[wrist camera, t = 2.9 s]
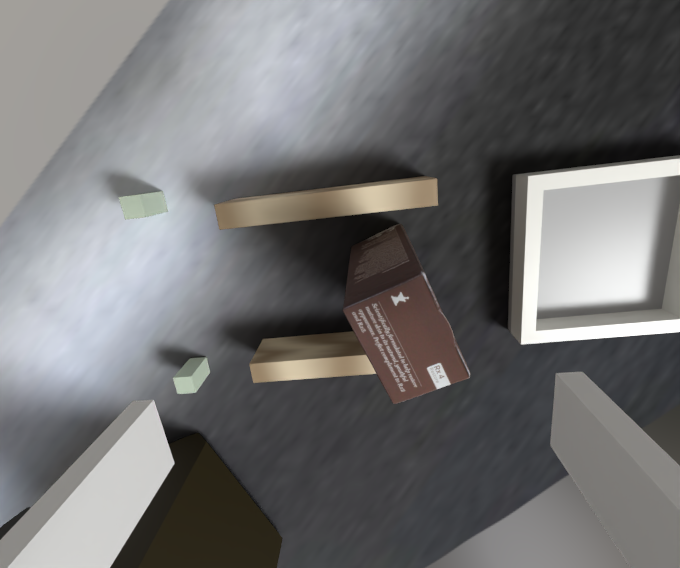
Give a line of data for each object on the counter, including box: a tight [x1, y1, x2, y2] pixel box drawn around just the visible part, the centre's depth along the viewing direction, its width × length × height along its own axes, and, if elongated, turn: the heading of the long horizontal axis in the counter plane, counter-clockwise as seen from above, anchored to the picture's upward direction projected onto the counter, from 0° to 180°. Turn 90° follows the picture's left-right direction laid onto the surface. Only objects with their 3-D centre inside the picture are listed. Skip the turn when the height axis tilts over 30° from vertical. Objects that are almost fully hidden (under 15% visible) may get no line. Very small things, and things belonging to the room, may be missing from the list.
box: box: [343, 224, 470, 404], centre depth 22 cm, size 6×4×12 cm
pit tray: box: [508, 155, 680, 344], centre depth 26 cm, size 12×12×2 cm
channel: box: [214, 176, 438, 383], centre depth 27 cm, size 14×13×4 cm
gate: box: [119, 191, 210, 394], centre depth 28 cm, size 2×16×3 cm, turn 7°
